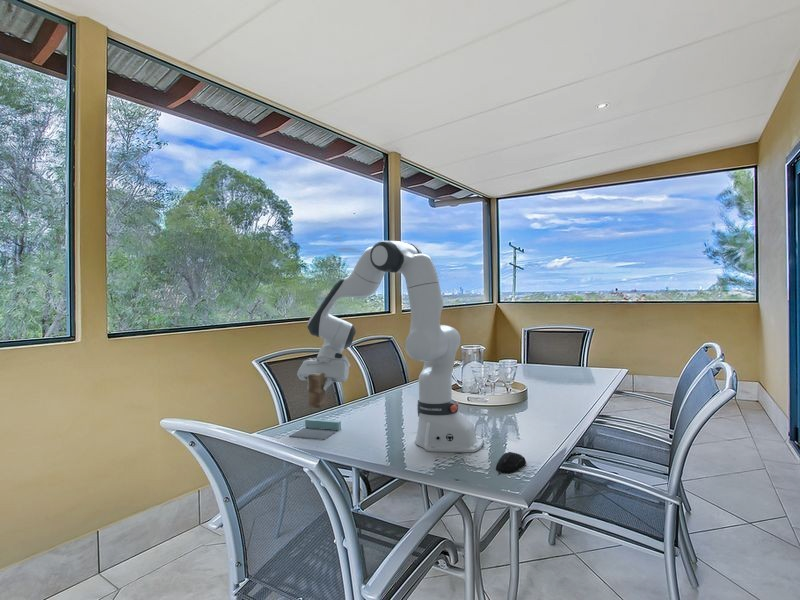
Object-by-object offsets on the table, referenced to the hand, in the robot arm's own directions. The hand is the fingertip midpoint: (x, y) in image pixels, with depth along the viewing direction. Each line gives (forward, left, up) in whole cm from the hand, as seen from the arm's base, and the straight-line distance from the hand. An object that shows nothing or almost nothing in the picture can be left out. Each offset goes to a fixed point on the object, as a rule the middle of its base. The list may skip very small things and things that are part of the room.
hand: (316, 389), depth 168 cm
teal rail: (-1, -2, -15) cm, 15 cm away
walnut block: (0, -1, -6) cm, 6 cm away
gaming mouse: (-71, +17, -16) cm, 75 cm away
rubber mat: (-1, +5, -15) cm, 16 cm away
